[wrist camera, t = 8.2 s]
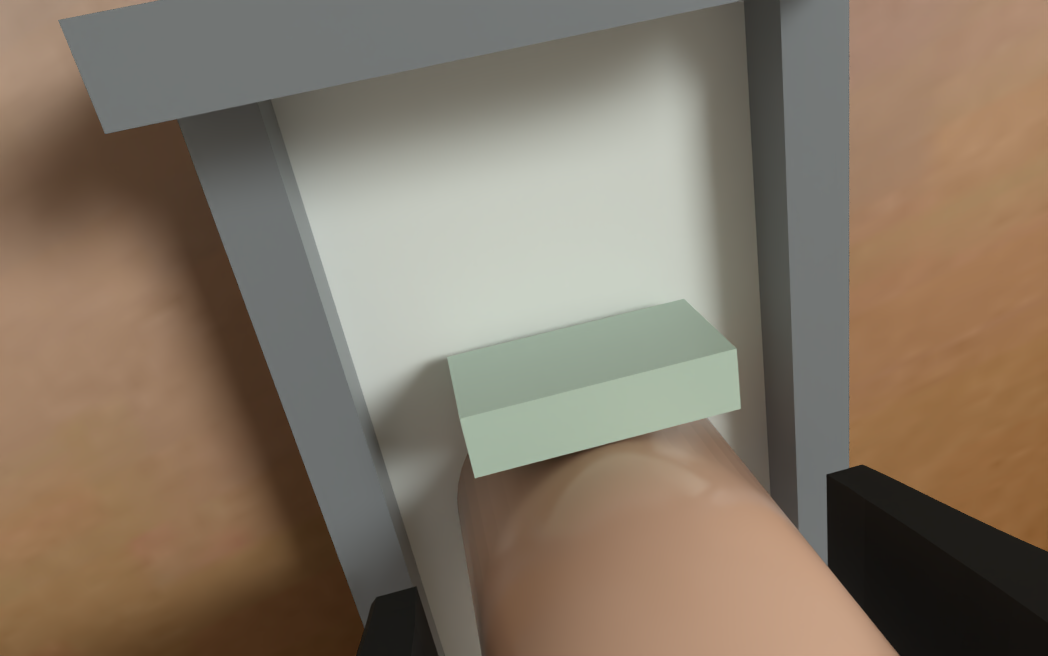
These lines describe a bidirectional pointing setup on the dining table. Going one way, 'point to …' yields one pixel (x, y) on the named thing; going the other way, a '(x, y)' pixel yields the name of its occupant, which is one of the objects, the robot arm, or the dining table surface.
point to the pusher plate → (592, 385)
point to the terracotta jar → (649, 558)
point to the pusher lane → (504, 221)
